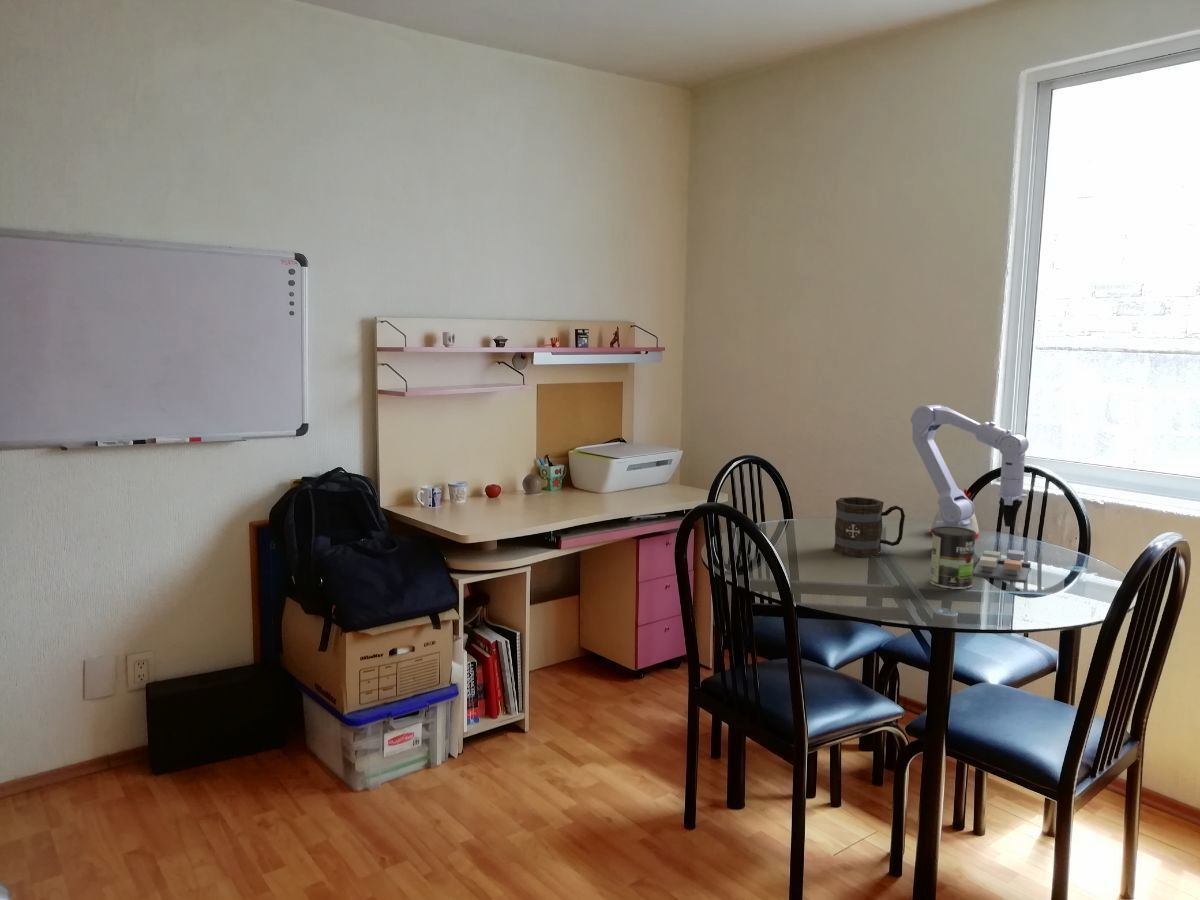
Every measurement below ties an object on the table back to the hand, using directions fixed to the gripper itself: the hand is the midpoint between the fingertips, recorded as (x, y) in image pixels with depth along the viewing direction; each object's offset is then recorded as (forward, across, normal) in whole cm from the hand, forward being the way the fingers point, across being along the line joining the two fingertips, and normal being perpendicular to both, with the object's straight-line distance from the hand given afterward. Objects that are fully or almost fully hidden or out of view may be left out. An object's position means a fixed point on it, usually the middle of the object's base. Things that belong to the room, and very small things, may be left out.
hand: (1009, 526), depth 251 cm
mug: (+10, -8, +36) cm, 39 cm away
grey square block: (+9, -7, -3) cm, 11 cm away
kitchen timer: (+10, +26, +18) cm, 34 cm away
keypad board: (+10, -10, 0) cm, 15 cm away
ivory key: (+10, -14, +3) cm, 17 cm away
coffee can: (+11, -29, +10) cm, 32 cm away
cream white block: (+10, -7, +3) cm, 12 cm away
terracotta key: (+10, -14, -3) cm, 17 cm away
